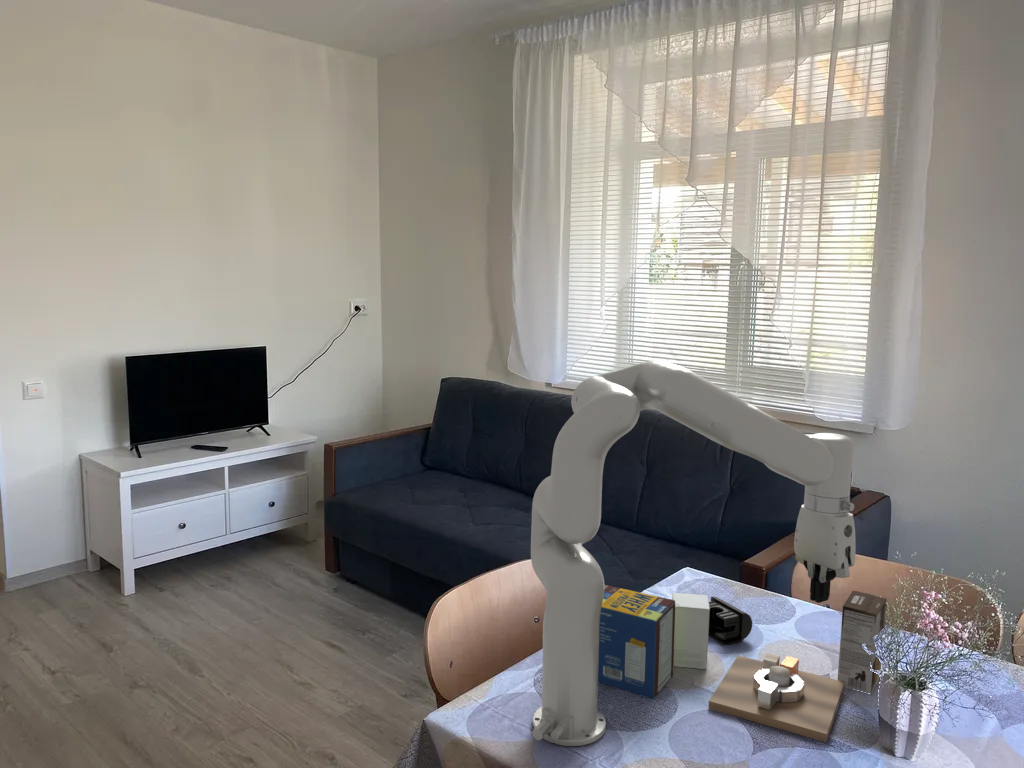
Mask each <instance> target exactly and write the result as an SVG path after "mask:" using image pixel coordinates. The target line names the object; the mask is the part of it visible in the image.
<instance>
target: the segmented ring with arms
mask: <svg viewBox="0 0 1024 768" xmlns="http://www.w3.org/2000/svg"><path fill="white" fill-rule="evenodd" d="M799 661H800V659H799V658H796V657H792V656H788V655H786V657H785V658H784V659H783V660H782V661H781V663H779V666H782V667H785V668H787V669H788V670H789V671H790V680H789V687H781V688H780V687H778V684H777V683H774V682H770V681H769V669H761V670H759V671H758V672H757V673H756V674H755V675H754V682H753V688H754V689H755V690H756V691H757V692H758V705H757V706H758V707H761V708H764V709H767V710H770V709H771V708H772V707H773V706H774V704H775V703H776V702H779V701H781V702H782V703H785V702H797V700H798V701H799V700H800V699H801V698H802V696H803V695H804V688H805V684H804V681H803V680H802V679H801V678H800V677H799V676H798V670H799V665H800V662H799Z"/></svg>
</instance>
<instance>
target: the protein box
mask: <svg viewBox="0 0 1024 768" xmlns="http://www.w3.org/2000/svg"><path fill="white" fill-rule="evenodd" d="M674 630H675V600H672V598H671V599H670V598H666V597H662V596H661V597H660V596H656V595H652V594H648V593H643V592H640V591H639V592H638V591H634V590H631V589H626V588H621V587H617V586H614V585H613V586H612V585H608V584H605V587H604V596H603V602H602V607H601V613H600V624H599V662H598V682H599V683H598V684H601V683H602V685H605V686H608V687H611V688H615V689H619V690H621V691H624V692H629V693H632V694H635V695H638V696H641V697H645V698H649V699H652V700H654V699H655V698H656V697H657V696H658V695H659V693H660V692H661V691H662V690H663V688H665V686H666V685H667V683H669V681H670V680H671V678H672V677H673V676H674V666H673V662H674Z"/></svg>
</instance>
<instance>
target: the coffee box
mask: <svg viewBox="0 0 1024 768" xmlns="http://www.w3.org/2000/svg"><path fill="white" fill-rule="evenodd" d="M851 591H852V592H851V593H850V594H849V595H848V597H847V599H846V601H845V602H844V603H843V605H842V611H841V612H842V613H841V614H842V615H841V629H840V640H839V641H840V644H839V653H838V654H839V657H838V668H837V669H838V671H837V680H839V681H843V682H845V684H844V688H846V687H847V688H846V689H849V688H850V689H849V690H852V689H855V690H854V691H856V690H859V691H863V692H866V693H870V694H871V695H873V692H874V691H875V688H876V687H877V684H878V682H879V680H880V678H879V675H878V674H876V673H874V672H872V671H870V669H871V667H870V662H871V665H872V669H874V670H880V669H881V670H882V668H881V663H880V661H879V659H878V658H877V657H876V656H875V655H874V654H871V655H869V654H868V653H867V652H866V651H865V650H864V649H863V648H862V644H863V643H865V644H866V647H867V648H868V649H869V650H870V651H871V652H873V653H875V652H876V647H875V643H874V639H873V636H875V635H877V634H878V633H879V632H880V631H881V630H882V629H883V628H884V629H885V623H886V613H885V612H886V610H887V609H886V608H887V598H885V597H883V596H882V597H881V596H877V595H874V594H870V593H867V592H861V591H857V590H851ZM885 603H886V604H885ZM859 691H858V692H859ZM866 693H865V694H866Z"/></svg>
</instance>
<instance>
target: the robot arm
mask: <svg viewBox="0 0 1024 768" xmlns="http://www.w3.org/2000/svg"><path fill="white" fill-rule="evenodd" d="M570 403H571V408H572V412H573V414H572V415H571V416H570V417H569V418H568V420H567V421H566V422H565V423H564V425H563V426H562V428H561V429H560V431H559V432H558V435H557V437H556V439H555V442H554V445H553V450H552V457H551V458H552V459H551V469H550V470H551V471H550V475H549V476H547V477H545V478H544V479H543V480H541V482H540V483H539V484H538V486H537V488H536V489H535V491H534V495H533V498H532V505H531V524H530V525H531V527H530V529H531V530H530V533H531V534H530V559H531V566H532V569H533V571H534V573H535V575H536V577H537V578H538V579H539V581H540V583H541V584H542V586H543V587H544V589H545V592H546V601H545V602H546V603H545V608H544V612H543V613H544V614H543V622H542V669H541V671H542V673H541V674H542V676H541V677H542V678H541V681H542V682H541V690H542V691H541V706H539V708H537V709H536V711H534V713H533V715H532V727H533V726H534V728H533V730H532V736H533V738H534V739H535V740H537V741H541V740H542V739H543V740H544V741H547V742H549V743H551V744H554V743H555V745H557V746H558V745H559V746H563V747H580V746H585V745H590V744H592V743H595V742H597V741H598V740H599V739H601V738H602V737H603V735H604V734H605V732H606V729H607V728H606V727H607V719H606V717H605V715H604V714H603V713H602V712H601V710H599V709H598V698H599V697H598V695H599V694H598V693H599V690H598V689H599V683H598V662H599V624H600V613H601V607H602V602H603V596H604V587H605V585H606V584H605V577H604V574H603V571H602V568H601V566H600V565H599V563H598V561H596V558H595V557H594V556H593V555H592V554H591V553H590V551H588V550H587V549H586V548H585V546H583V544H586V543H587V542H590V541H591V540H592V539H593V538H594V537H595V536H596V534H597V532H598V531H599V528H600V526H601V520H602V498H603V497H602V496H603V493H602V491H603V474H604V465H605V460H606V458H607V457H606V456H607V454H608V452H609V451H610V449H611V448H612V446H613V445H614V444H615V443H616V442H617V441H618V440H619V439H621V438H622V437H624V435H627V434H628V433H629V432H631V431H632V429H634V427H636V426H635V425H637V422H638V419H639V417H640V413H641V411H644V410H647V409H653V410H655V411H657V412H660V413H661V414H663V415H664V416H666V417H668V418H671V419H672V420H674V421H677V423H680V424H682V425H684V427H685V426H686V427H687V428H689V429H691V430H692V431H695V432H697V433H698V434H700V435H701V436H704V437H705V438H708V439H709V440H710V441H712V442H715V443H716V444H719V445H721V446H723V447H724V448H727V449H729V450H731V451H734V452H737V453H739V454H741V455H745V456H748V457H749V458H752V459H755V460H757V461H758V462H761V463H763V464H764V466H766V467H767V468H768V469H769V470H771V471H772V472H774V473H776V474H778V475H781V476H783V477H786V478H788V479H790V480H792V481H795V482H797V483H798V484H801V485H802V486H804V497H803V499H804V500H803V504H801V507H800V509H799V513H798V516H797V519H796V525H795V531H794V532H795V533H794V541H793V550H794V554H795V557H794V559H795V561H797V562H799V563H800V564H802V565H803V566H804V568H805V570H806V571H807V576H808V578H809V579H810V584H809V585H810V588H809V593H810V594H809V595H810V596H809V600H810V601H812V602H815V603H818V604H820V603H822V602H823V603H824V602H826V601H828V600H829V599H830V594H831V593H830V592H831V581H834V579H836V578H837V579H838V578H840V579H846V578H849V577H850V575H851V572H850V567H853V566H855V562H856V549H857V548H856V547H857V545H856V526H855V520H854V519H855V518H854V514H853V513H850V512H852V511H854V509H855V504H854V503H853V502H851V482H852V472H853V471H852V470H853V459H854V442H853V440H852V438H850V437H849V436H847V435H844V434H839V433H833V432H819V433H814V434H808V433H804V432H802V431H800V430H798V429H797V428H795V427H793V426H791V425H789V424H787V423H786V422H783V421H781V420H779V419H778V418H775V417H774V416H773V415H770V414H768V413H766V412H765V411H763V410H761V409H760V408H758V407H757V406H755V405H753V404H751V403H750V402H747V401H745V400H744V399H742V398H740V397H738V396H737V395H734V394H732V393H731V392H729V391H727V390H725V389H723V388H722V387H721V386H718V385H716V384H715V383H713V382H711V381H709V380H708V379H706V378H704V377H702V376H700V375H699V374H697V373H695V371H694V372H693V371H692V370H690V369H688V368H686V367H683V366H682V365H678V364H674V363H672V362H668V361H664V360H658V359H657V360H650V361H645V362H640V363H637V364H633V365H629V366H626V367H623V368H620V369H615V370H612V371H608V372H604V373H601V374H597V375H594V376H591V377H589V378H586V379H585V380H582V381H581V382H580V383H579V384H578V385H577V386H576V387H575V388H574V391H573V392H572V395H571V401H570Z"/></svg>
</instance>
